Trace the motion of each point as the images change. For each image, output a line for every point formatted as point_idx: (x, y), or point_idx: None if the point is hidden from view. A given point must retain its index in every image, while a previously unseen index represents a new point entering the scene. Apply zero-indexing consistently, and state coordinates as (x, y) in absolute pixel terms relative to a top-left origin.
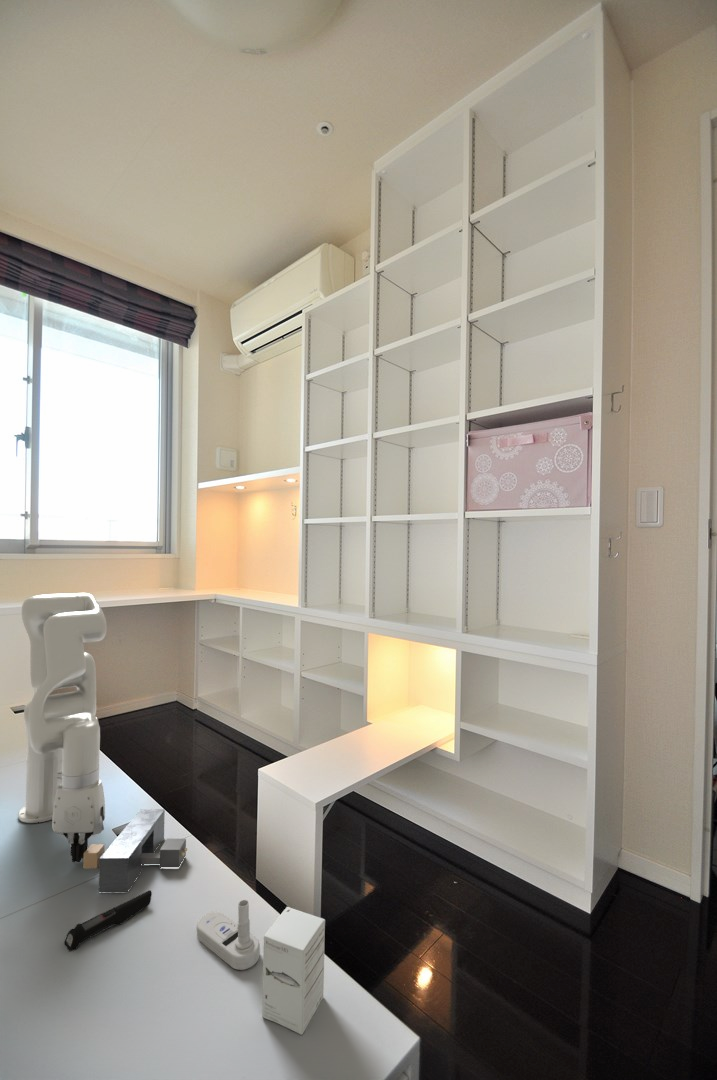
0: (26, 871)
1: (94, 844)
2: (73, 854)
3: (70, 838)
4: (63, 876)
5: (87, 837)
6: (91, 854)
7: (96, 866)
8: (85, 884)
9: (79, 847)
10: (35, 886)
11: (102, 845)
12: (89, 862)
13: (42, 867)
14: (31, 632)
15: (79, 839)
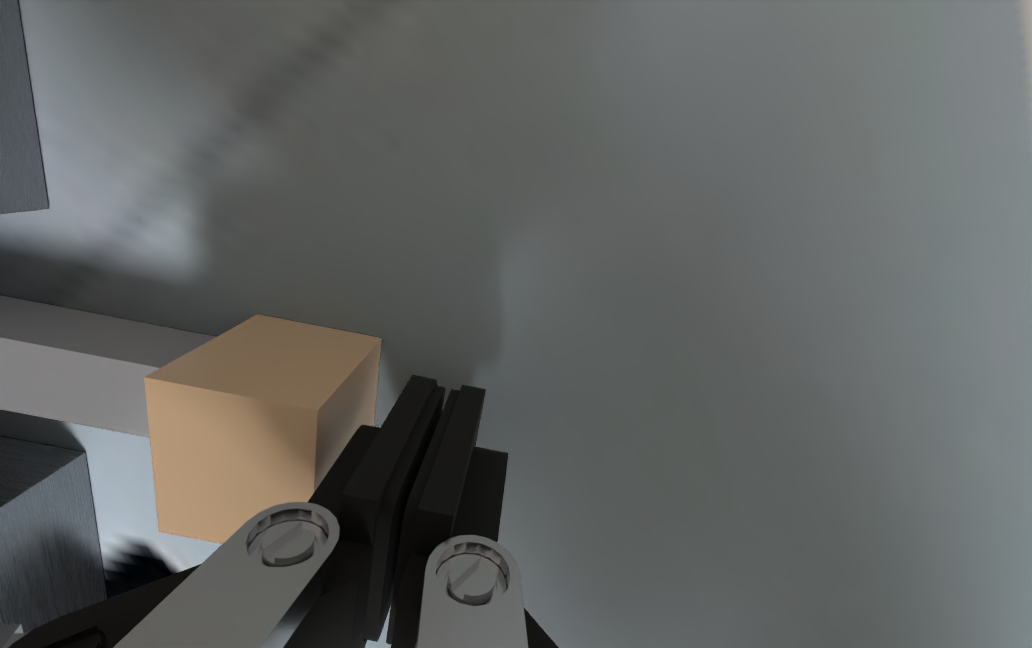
0: (898, 394)
1: None
2: (452, 425)
3: (475, 625)
4: (520, 244)
5: (164, 593)
6: (229, 384)
7: (250, 320)
8: (235, 52)
9: (360, 478)
10: (754, 119)
11: (169, 514)
12: (299, 348)
13: (763, 424)
14: None
15: (304, 574)
